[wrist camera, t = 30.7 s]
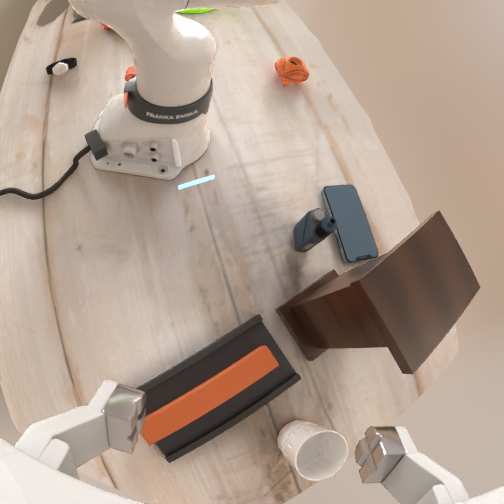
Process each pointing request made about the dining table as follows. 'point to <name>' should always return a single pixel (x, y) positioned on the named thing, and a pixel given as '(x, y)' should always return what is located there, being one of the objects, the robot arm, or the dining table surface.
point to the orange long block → (208, 395)
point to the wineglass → (195, 10)
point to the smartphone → (350, 223)
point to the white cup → (312, 449)
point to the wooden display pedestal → (388, 300)
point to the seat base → (205, 368)
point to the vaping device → (313, 229)
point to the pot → (291, 70)
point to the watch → (61, 66)
